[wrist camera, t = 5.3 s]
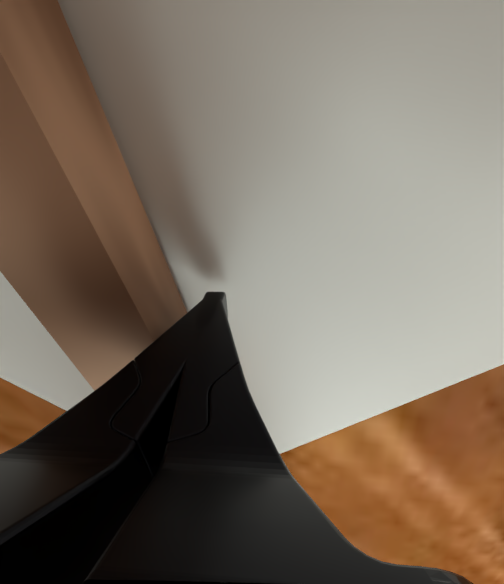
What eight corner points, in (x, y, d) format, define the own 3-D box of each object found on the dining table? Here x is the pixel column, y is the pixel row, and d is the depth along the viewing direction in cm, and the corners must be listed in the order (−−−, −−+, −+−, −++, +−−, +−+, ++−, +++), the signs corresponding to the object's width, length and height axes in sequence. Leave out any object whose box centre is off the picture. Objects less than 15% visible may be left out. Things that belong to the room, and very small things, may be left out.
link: (256, 438, 14) (256, 495, 12) (175, 445, 15) (163, 501, 13) (41, -168, 5) (-120, -345, 3) (-172, -86, 5) (-435, -183, 3)
